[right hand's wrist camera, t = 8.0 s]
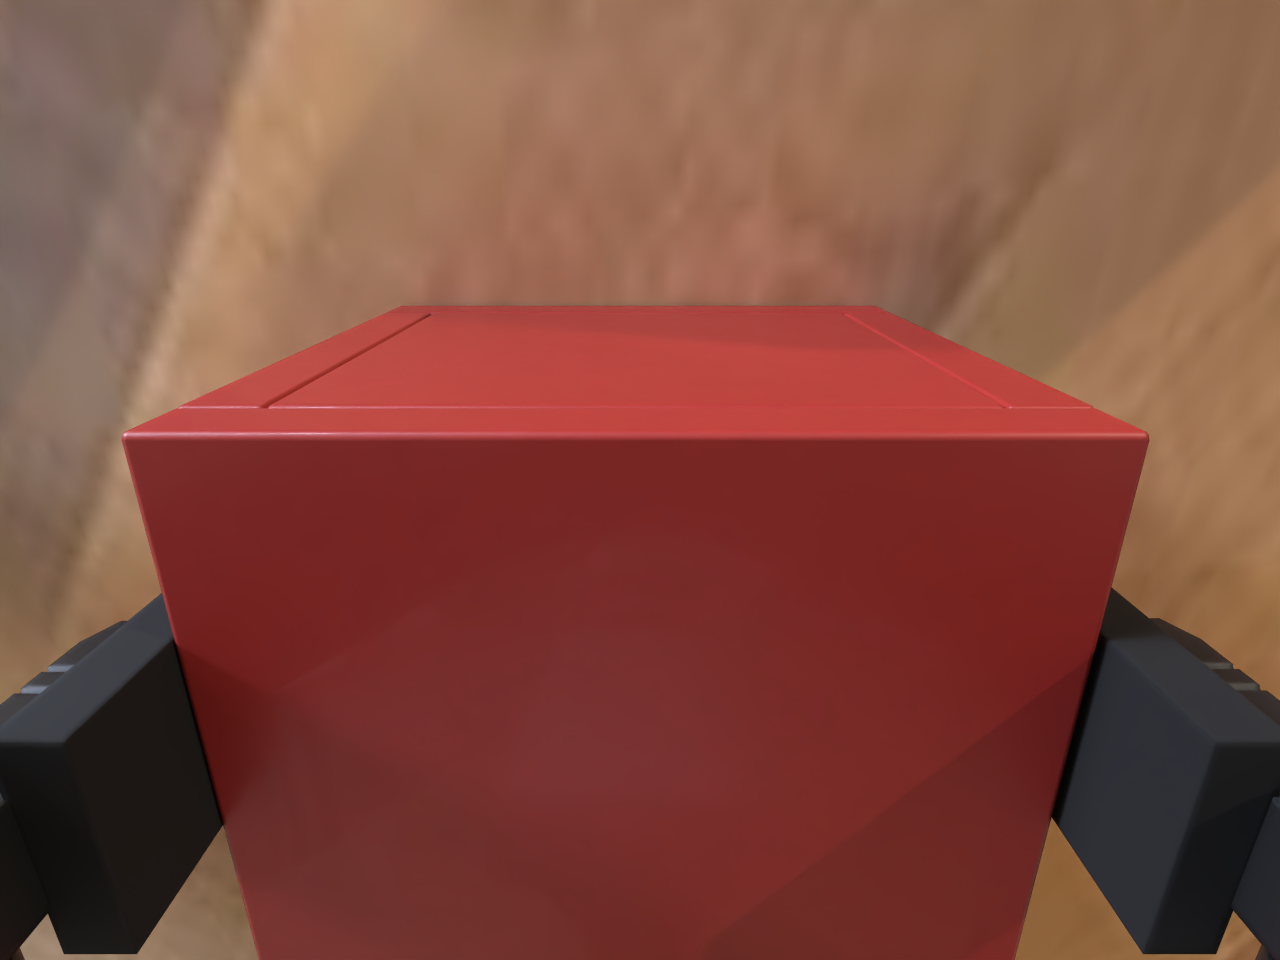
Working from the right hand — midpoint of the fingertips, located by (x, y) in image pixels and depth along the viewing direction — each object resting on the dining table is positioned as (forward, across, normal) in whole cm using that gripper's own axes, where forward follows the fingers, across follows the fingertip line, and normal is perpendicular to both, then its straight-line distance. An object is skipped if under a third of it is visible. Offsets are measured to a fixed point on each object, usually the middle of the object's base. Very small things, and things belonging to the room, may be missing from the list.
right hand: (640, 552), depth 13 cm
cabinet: (+4, 0, -3) cm, 5 cm away
